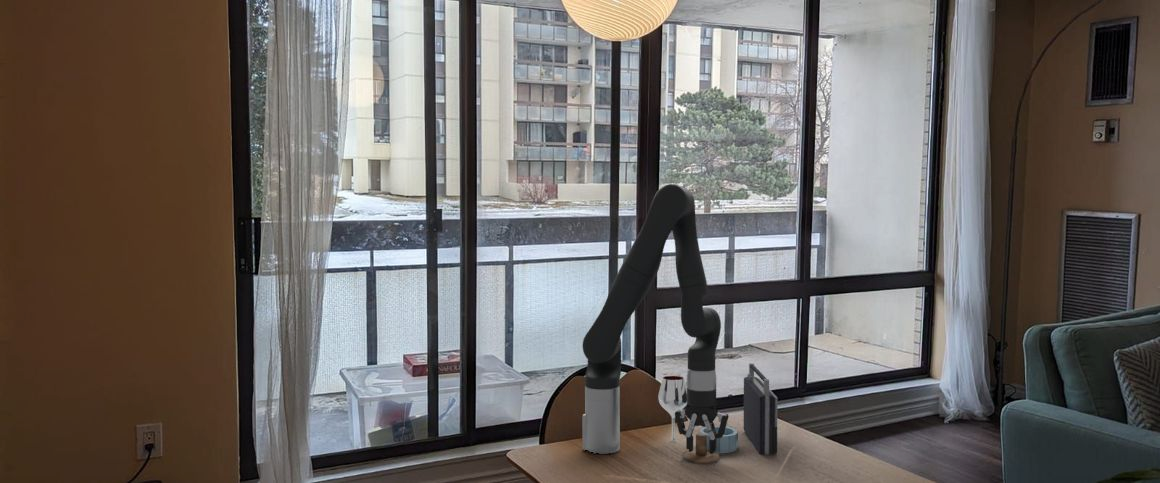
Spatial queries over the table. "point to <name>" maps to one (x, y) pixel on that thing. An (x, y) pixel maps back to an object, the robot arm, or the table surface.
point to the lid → (701, 452)
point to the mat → (704, 464)
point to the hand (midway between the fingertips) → (701, 451)
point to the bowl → (723, 440)
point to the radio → (760, 412)
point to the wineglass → (673, 397)
